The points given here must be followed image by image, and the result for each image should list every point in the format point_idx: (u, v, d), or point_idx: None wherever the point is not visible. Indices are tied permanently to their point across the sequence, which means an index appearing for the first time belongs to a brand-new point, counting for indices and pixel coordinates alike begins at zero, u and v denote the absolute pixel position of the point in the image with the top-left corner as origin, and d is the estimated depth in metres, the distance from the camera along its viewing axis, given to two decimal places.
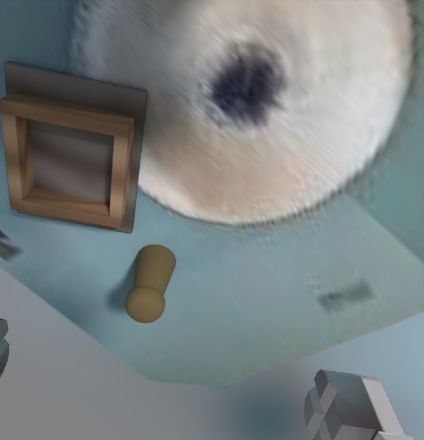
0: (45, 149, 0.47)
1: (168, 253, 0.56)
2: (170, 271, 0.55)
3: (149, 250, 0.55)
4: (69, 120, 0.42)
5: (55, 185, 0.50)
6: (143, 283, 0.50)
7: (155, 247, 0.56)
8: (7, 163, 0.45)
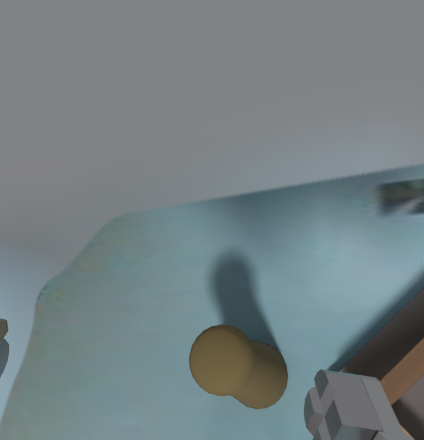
0: None
1: (258, 406, 0.35)
2: None
3: (280, 387, 0.34)
4: None
5: None
6: None
7: (278, 396, 0.35)
8: None
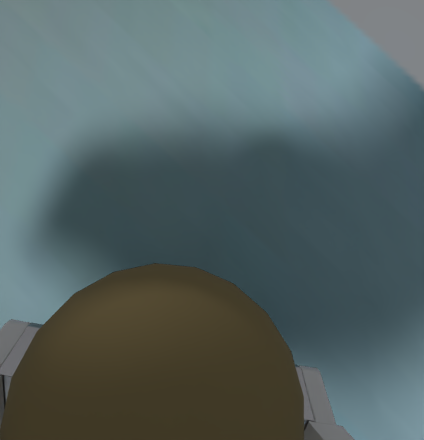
0: None
1: None
2: None
3: None
4: None
5: None
6: None
7: None
8: None
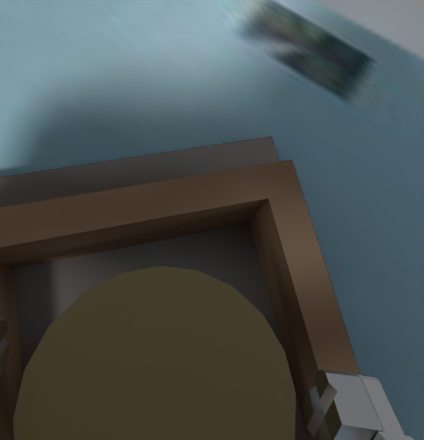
0: None
1: None
2: None
3: None
4: None
5: (197, 254, 0.18)
6: None
7: None
8: (336, 310, 0.14)
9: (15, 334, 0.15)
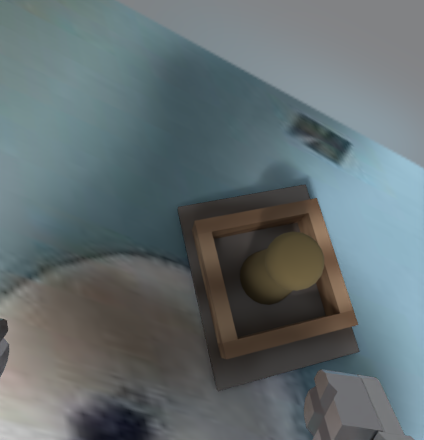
0: None
1: (251, 295, 0.41)
2: (250, 277, 0.39)
3: (278, 300, 0.40)
4: (288, 334, 0.37)
5: (277, 235, 0.44)
6: None
7: (269, 303, 0.41)
8: (333, 253, 0.40)
9: None
